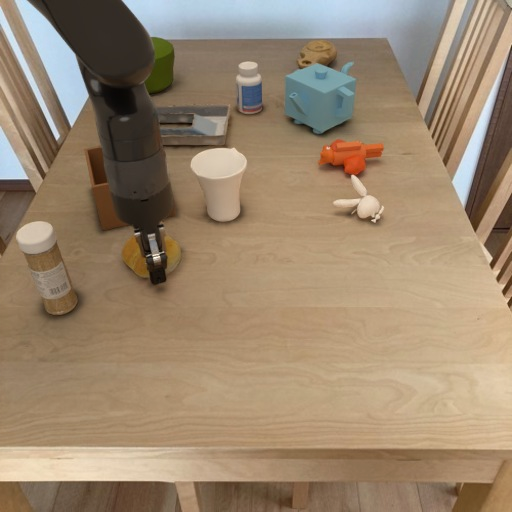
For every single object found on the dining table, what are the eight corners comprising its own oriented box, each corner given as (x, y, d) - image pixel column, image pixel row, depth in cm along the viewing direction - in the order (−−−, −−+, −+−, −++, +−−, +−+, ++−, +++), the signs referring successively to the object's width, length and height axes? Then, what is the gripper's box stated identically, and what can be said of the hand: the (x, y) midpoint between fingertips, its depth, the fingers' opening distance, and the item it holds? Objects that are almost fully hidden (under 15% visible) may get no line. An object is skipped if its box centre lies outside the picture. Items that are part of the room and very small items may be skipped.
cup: (260, 205, 94) (259, 154, 88) (227, 235, 89) (223, 183, 82) (218, 189, 98) (214, 139, 91) (184, 216, 92) (178, 165, 86)
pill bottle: (267, 108, 120) (267, 64, 114) (250, 117, 118) (249, 73, 111) (249, 100, 123) (248, 57, 117) (232, 109, 120) (229, 65, 114)
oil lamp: (297, 81, 130) (298, 60, 127) (291, 57, 141) (292, 37, 138) (342, 79, 131) (344, 58, 127) (333, 55, 141) (334, 35, 138)
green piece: (183, 77, 133) (178, 29, 126) (170, 100, 124) (163, 50, 117) (133, 75, 135) (125, 27, 127) (116, 97, 126) (106, 48, 118)
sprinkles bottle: (76, 289, 80) (51, 216, 71) (80, 311, 77) (54, 237, 68) (43, 298, 79) (14, 224, 70) (46, 320, 76) (15, 246, 67)
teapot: (263, 122, 116) (263, 69, 108) (323, 95, 125) (326, 45, 117) (318, 151, 107) (322, 96, 99) (378, 120, 116) (385, 67, 108)
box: (175, 215, 93) (168, 172, 87) (103, 230, 90) (91, 187, 84) (161, 177, 101) (154, 136, 96) (94, 190, 99) (84, 148, 93)
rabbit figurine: (370, 231, 89) (331, 200, 89) (365, 234, 93) (328, 204, 93) (393, 202, 89) (354, 171, 89) (387, 206, 93) (349, 177, 93)
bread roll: (148, 288, 80) (144, 268, 77) (115, 258, 85) (110, 238, 82) (194, 261, 84) (191, 241, 81) (160, 234, 89) (156, 214, 86)
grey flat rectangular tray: (227, 148, 109) (226, 135, 107) (101, 148, 109) (98, 135, 107) (231, 115, 118) (230, 103, 116) (116, 116, 119) (113, 103, 117)
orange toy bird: (381, 129, 101) (316, 135, 100) (392, 161, 98) (325, 168, 96) (375, 147, 106) (313, 154, 104) (385, 179, 102) (321, 185, 101)
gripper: (102, 157, 72) (126, 257, 83) (114, 215, 62) (139, 319, 74) (159, 147, 74) (175, 246, 85) (179, 202, 64) (194, 305, 76)
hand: (158, 280), depth 79 cm, fingers closed
